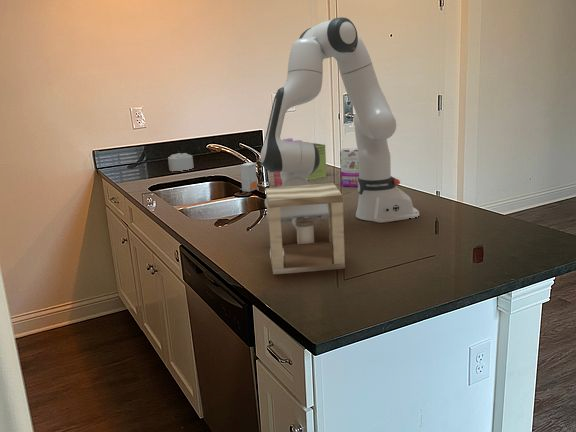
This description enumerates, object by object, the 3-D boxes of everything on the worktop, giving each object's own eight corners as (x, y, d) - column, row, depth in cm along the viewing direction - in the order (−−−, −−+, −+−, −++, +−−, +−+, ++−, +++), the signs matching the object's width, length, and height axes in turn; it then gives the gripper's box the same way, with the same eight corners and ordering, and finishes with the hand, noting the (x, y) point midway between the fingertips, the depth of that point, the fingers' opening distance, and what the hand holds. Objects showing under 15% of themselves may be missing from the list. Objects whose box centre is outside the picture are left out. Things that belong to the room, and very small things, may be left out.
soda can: (290, 197, 245) (288, 166, 242) (273, 197, 247) (271, 166, 243) (293, 193, 252) (291, 163, 249) (277, 193, 254) (275, 163, 250)
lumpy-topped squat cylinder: (168, 169, 322) (166, 153, 320) (192, 166, 326) (190, 151, 324) (171, 172, 313) (169, 156, 310) (195, 169, 316) (193, 154, 314)
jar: (314, 255, 170) (312, 217, 167) (316, 261, 165) (314, 222, 162) (296, 256, 170) (294, 218, 167) (298, 262, 165) (296, 223, 162)
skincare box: (249, 192, 258) (247, 165, 255) (242, 191, 261) (239, 164, 257) (257, 189, 263) (255, 162, 260) (250, 188, 266) (248, 162, 262)
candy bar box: (368, 185, 258) (367, 148, 254) (365, 187, 254) (364, 150, 250) (344, 184, 263) (342, 147, 258) (340, 186, 258) (339, 149, 254)
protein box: (327, 176, 280) (325, 144, 276) (300, 182, 272) (299, 149, 268) (314, 173, 289) (312, 142, 284) (288, 179, 280) (286, 146, 276)
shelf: (269, 254, 178) (265, 186, 172) (335, 248, 179) (332, 181, 173) (273, 274, 161) (268, 200, 156) (344, 268, 163) (342, 195, 157)
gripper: (263, 191, 184) (267, 230, 177) (328, 185, 185) (334, 224, 179) (264, 201, 189) (268, 239, 183) (326, 196, 191) (333, 233, 184)
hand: (301, 231), depth 181 cm, fingers closed
